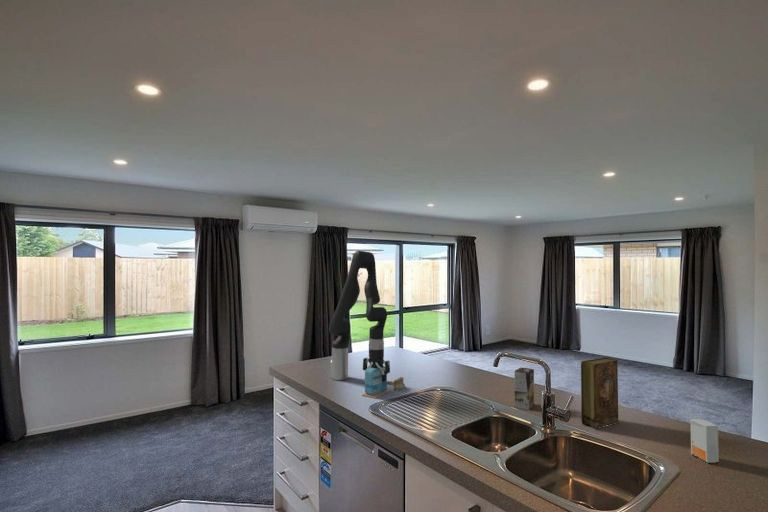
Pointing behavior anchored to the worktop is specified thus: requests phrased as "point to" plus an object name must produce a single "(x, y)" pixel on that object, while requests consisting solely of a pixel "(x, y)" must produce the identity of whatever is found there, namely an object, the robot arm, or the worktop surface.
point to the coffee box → (524, 388)
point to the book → (599, 392)
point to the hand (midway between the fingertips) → (376, 380)
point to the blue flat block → (374, 381)
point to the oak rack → (397, 383)
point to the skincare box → (704, 440)
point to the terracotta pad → (375, 394)
